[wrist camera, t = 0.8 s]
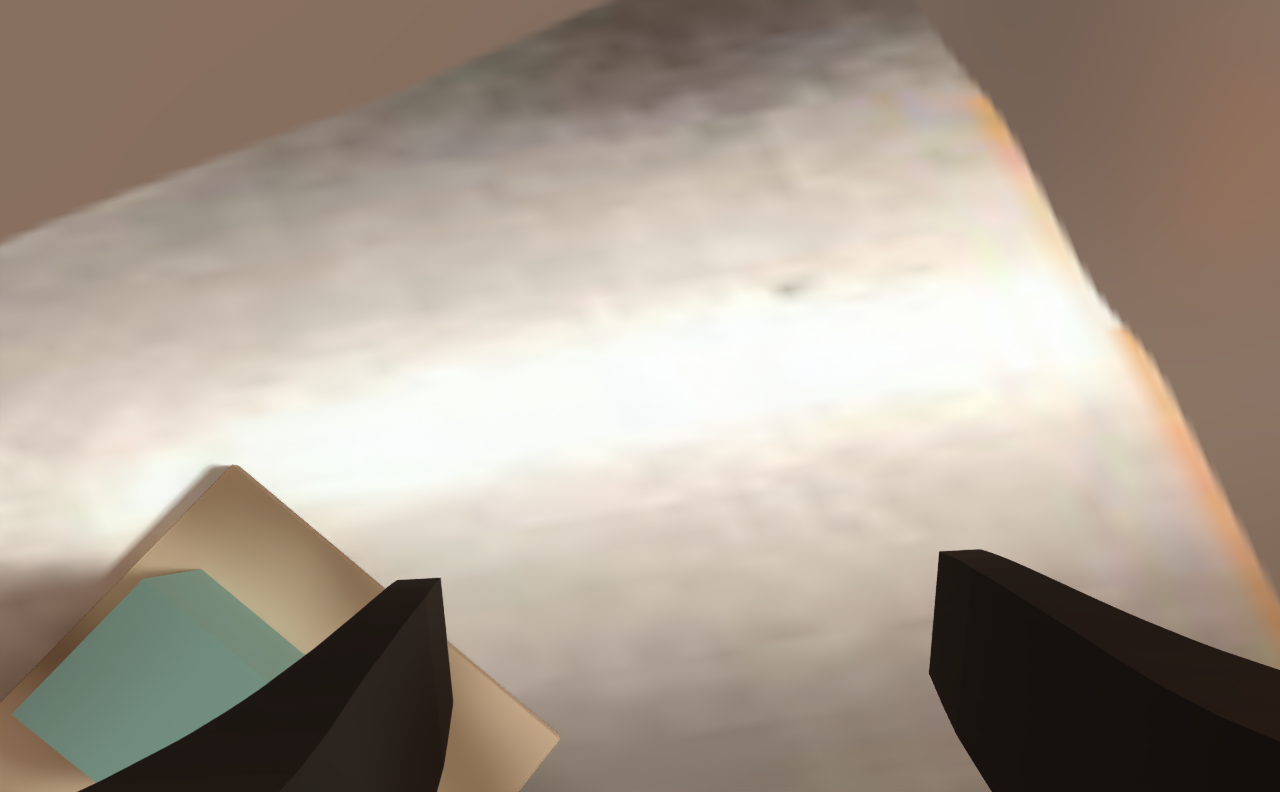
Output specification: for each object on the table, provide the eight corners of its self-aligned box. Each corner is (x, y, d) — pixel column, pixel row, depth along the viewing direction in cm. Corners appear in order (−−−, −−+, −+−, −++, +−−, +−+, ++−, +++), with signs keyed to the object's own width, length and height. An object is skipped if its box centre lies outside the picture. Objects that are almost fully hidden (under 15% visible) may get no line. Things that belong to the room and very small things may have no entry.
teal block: (204, 769, 27) (145, 822, 23) (95, 680, 27) (11, 713, 22) (306, 656, 29) (269, 683, 24) (201, 568, 28) (142, 579, 23)
